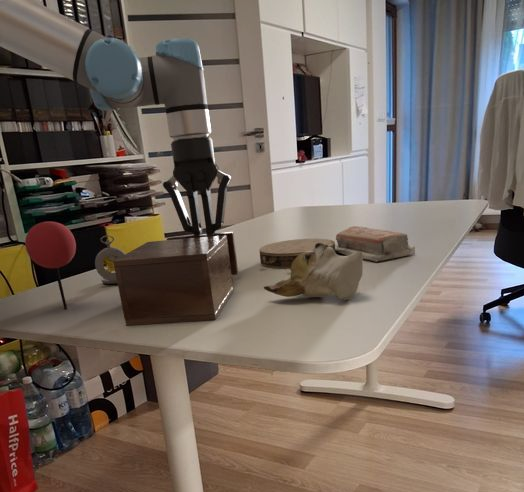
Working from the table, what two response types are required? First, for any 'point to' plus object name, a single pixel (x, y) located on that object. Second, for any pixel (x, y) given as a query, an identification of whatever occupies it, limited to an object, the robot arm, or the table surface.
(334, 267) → the ceramic sculpture
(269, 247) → the tambourine
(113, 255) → the pocket watch
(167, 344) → the table surface
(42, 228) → the lollipop
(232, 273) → the drawer
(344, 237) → the old brick
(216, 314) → the wooden box
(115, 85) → the robot arm
